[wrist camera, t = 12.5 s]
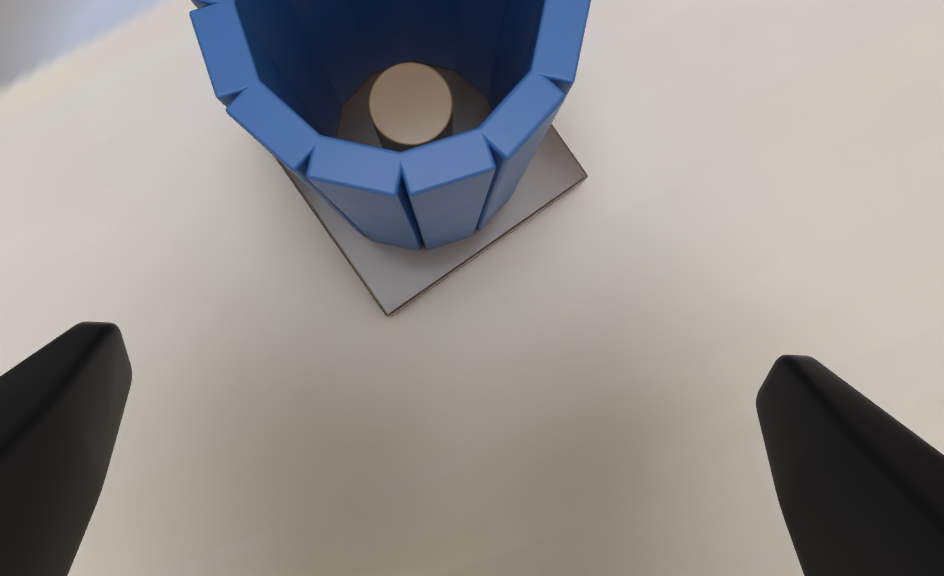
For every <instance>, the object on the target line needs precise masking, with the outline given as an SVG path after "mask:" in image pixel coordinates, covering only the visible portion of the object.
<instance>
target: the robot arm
mask: <svg viewBox="0 0 944 576" xmlns="http://www.w3.org/2000/svg"><path fill="white" fill-rule="evenodd" d="M131 380H132V368H131V364H130V361H129V357H128V354H127V351H126V348H125V344H124V341H123V338H122V334H121V332H120V329H119V328H118V326H117V325H115V324H113V323H108V322H81V323H79V324H77V325H75V326H73V327H72V328H70V329H69V330H68V331H66V332H65V333H63V334H62V335H60V336H59V337H57V338H56V339H54V340H53V341H51V342H50V343H48V344H47V345H46V346H44V347H43V348H41V349H40V350H38V351H37V352H35V353H34V354H32V355H31V356H29V357H28V358H27V359H25V360H24V361H22V362H21V363H19V364H18V365H16V366H15V367H13V368H12V369H10V370H9V371H7V372H6V373H5V374H3V375H2V376H0V576H67V575H68V573H69V570H70V568H71V566H72V563H73V561H74V558H75V556H76V553H77V551H78V548H79V546H80V543H81V541H82V538H83V536H84V534H85V531H86V529H87V526H88V524H89V521H90V519H91V516H92V514H93V511H94V509H95V506H96V504H97V501H98V498H99V496H100V493H101V490H102V487H103V484H104V480H105V477H106V474H107V470H108V467H109V463H110V459H111V456H112V452H113V448H114V445H115V441H116V437H117V434H118V430H119V426H120V423H121V419H122V415H123V412H124V408H125V404H126V401H127V397H128V393H129V390H130V386H131ZM756 408H757V413H758V417H759V422H760V426H761V430H762V434H763V438H764V443H765V447H766V451H767V455H768V460H769V464H770V468H771V472H772V476H773V481H774V485H775V489H776V493H777V496H778V500H779V504H780V507H781V510H782V513H783V516H784V519H785V522H786V525H787V528H788V531H789V533H790V536H791V539H792V542H793V545H794V548H795V550H796V553H797V556H798V559H799V562H800V565H801V567H802V570H803V573H804V576H944V455H943V454H942V453H940V452H939V451H938V450H936V449H935V448H933V447H932V446H931V445H929V444H928V443H927V442H925V441H924V440H923V439H921V438H920V437H919V436H917V435H916V434H915V433H913V432H912V431H911V430H909V429H908V428H907V427H905V426H904V425H903V424H901V423H900V422H899V421H897V420H896V419H895V418H893V417H892V416H891V415H889V414H888V413H887V412H885V411H884V410H883V409H881V408H880V407H879V406H877V405H876V404H874V403H873V402H872V401H870V400H869V399H868V398H866V397H865V396H864V395H862V394H861V393H860V392H858V391H857V390H856V389H854V388H853V387H852V386H850V385H849V384H848V383H846V382H845V381H844V380H842V379H841V378H840V377H838V376H837V375H836V374H834V373H833V372H832V371H830V370H829V369H828V368H826V367H825V366H824V365H822V364H821V363H820V362H818V361H817V360H815V359H814V358H812V357H809V356H802V355H783V356H781V357H779V358H778V359H777V360H776V361H775V363H774V365H773V367H772V368H771V370H770V372H769V374H768V375H767V377H766V379H765V381H764V382H763V384H762V386H761V388H760V389H759V391H758V394H757V398H756Z"/></svg>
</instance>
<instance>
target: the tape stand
mask: <svg viewBox="0 0 944 576" xmlns="http://www.w3.org/2000/svg"><path fill="white" fill-rule="evenodd" d="M491 112H492V111H491V108H490V105H489V102H488V99H487V98H486V97H485V96H484V95H483V94H482V93H481V92H479V91H478V90H477V89H476V88H475V87H474V86H473V85H472V84H470V83H469V82H468V81H467V80H466V79H465V78H464V77H463V76H462V75H460V74H459V73H458V72H457V71H456V70H453V69H448V68H443V67H439V66H434V65H430V64H425V63H421V62H416V61H410V62H405V63H400V64H396V65H394V66H391V67H390V68H387V69H384V70H381V71H378V72H375V73H372V74H371V75H370V76H369V77H368V78H367V79H366V80H365V81H364V82H363V83H362V85H361V86H360V87H359V88H358V89H357V90H356V91H355V92H354V93H353V94H352V95H351V96H350V98H349V99H348V100H347V101H346V102H345V103H344V104H343V106H342V111H341V115H340V120H339V124H338V129H337V133H336V138H338V139H343V140H347V141H352V142H356V143H361V144H366V145H370V146H375V147H380V148H384V149H389V150H394V151H398V152H402V151H405V150H408V149H411V148H414V147H418V146H421V145H424V144H427V143H430V142H433V141H437V140H440V139H443V138H446V137H449V136H452V135H456V134H459V133H462V132H465V131H468V130H471V129H475V128H477V127H478V126H479V125H480V124H481V123H482V122H483V121H484V120H485V119H486V118H487V116H488V115H489V114H490V113H491ZM274 157H275V156H274ZM275 158H276V157H275ZM276 160H277V161H278V162H279V164H280V165H281V167H282V168H283V170H284V171H285V172H286V174H287V175H288V177H289V178H290V180H291V181H292V182H293V184H294V185H295V187H296V188H297V190H298V191H299V192H300V194H301V195H302V197H303V198H304V199H305V201H306V202H307V204H308V205H309V207H310V208H311V209H312V211H313V212H314V214H315V215H316V217H317V218H318V219H319V221H320V222H321V224H322V225H323V227H324V228H325V229H326V231H327V232H328V234H329V235H330V237H331V238H332V239H333V241H334V242H335V244H336V245H337V246H338V248H339V249H340V251H341V252H342V254H343V255H344V256H345V258H346V259H347V261H348V262H349V264H350V265H351V266H352V268H353V269H354V271H355V272H356V274H357V275H358V276H359V278H360V279H361V281H362V282H363V284H364V285H365V286H366V288H367V289H368V291H369V292H370V294H371V295H372V296H373V298H374V299H375V301H376V302H377V303H378V305H379V306H380V308H381V309H382V311H383V312H384V313H385V315H386V316H393V315H394V314H396V313H397V312H398V311H400V310H401V309H403V308H404V307H406V306H407V305H408V304H410V303H411V302H413V301H414V300H416V299H417V298H418V297H420V296H421V295H423V294H424V293H426V292H427V291H428V290H430V289H431V288H433V287H434V286H436V285H437V284H438V283H440V282H441V281H443V280H444V279H446V278H447V277H448V276H450V275H451V274H453V273H454V272H456V271H457V270H458V269H460V268H461V267H463V266H464V265H466V264H467V263H468V262H470V261H471V260H473V259H474V258H476V257H477V256H478V255H480V254H481V253H483V252H484V251H486V250H487V249H488V248H490V247H491V246H493V245H494V244H496V243H497V242H498V241H500V240H501V239H503V238H504V237H506V236H507V235H508V234H510V233H511V232H513V231H514V230H516V229H517V228H518V227H520V226H521V225H523V224H524V223H526V222H527V221H528V220H530V219H531V218H533V217H534V216H536V215H537V214H538V213H540V212H541V211H543V210H544V209H546V208H547V207H548V206H550V205H551V204H553V203H554V202H555V201H557V200H558V199H560V198H561V197H563V196H564V195H565V194H567V193H568V192H570V191H571V190H573V189H574V188H575V187H577V186H578V185H580V184H581V183H582V182H583V181H584V180H585V179H586V178H587V177H588V176H587V174H586V172H585V171H584V169H583V168H582V166H581V165H580V164H579V162H578V161H577V159H576V158H575V157H574V155H573V154H572V152H571V151H570V150H569V148H568V147H567V145H566V144H565V142H564V141H563V140H562V138H561V137H560V135H559V134H558V133H557V131H556V130H555V128H554V127H553V125H552V124H551V125H550V127H549V128H548V130H547V132H546V134H545V136H544V138H543V139H542V141H541V143H540V145H539V147H538V148H537V150H536V152H535V154H534V156H533V157H532V159H531V161H530V163H529V165H528V167H527V168H526V170H525V172H524V174H523V176H522V177H521V179H520V181H519V183H518V185H517V187H516V188H515V190H514V192H513V194H512V196H511V197H510V198H509V200H508V201H507V202H506V203H505V204H504V205H503V206H502V207H501V208H500V210H499V211H498V212H497V213H496V214H495V215H494V216H493V217H492V218H491V220H490V221H489V222H488V223H487V224H486V225H485V226H484V227H483V228H482V229H481V230H477V229H476V228H475V231H474V234H473V235H472V236H470V237H467V238H464V239H461V240H458V241H455V242H452V243H449V244H446V245H443V246H440V247H436V248H433V249H430V250H427V249H426V247H425V244H424V241H423V239H422V244H421V249H420V250H413V249H408V248H403V247H399V246H394V245H389V244H384V243H380V242H375V241H372V240H371V239H370V238H369V237H368V236H365V237H364V236H363V235H361V234H360V233H359V232H358V231H357V230H356V229H355V228H354V227H352V226H351V225H350V224H349V223H348V222H347V221H346V220H345V219H344V218H342V217H341V216H340V215H339V214H338V213H337V212H336V211H335V210H333V209H332V208H331V207H330V206H329V205H328V204H327V203H326V202H325V201H323V200H322V199H321V198H320V197H319V196H318V195H317V194H316V193H315V192H314V191H312V190H311V189H310V188H309V187H308V186H307V185H306V184H305V183H304V182H302V181H301V180H300V179H299V178H298V177H297V176H296V175H295V174H294V173H293V172H291V171H290V170H289V169H288V168H287V167H286V166H285V165H284V164H283V163H281V162H280V161H279V160H278V159H277V158H276Z"/></svg>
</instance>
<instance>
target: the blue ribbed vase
mask: <svg viewBox="0 0 944 576" xmlns="http://www.w3.org/2000/svg"><path fill="white" fill-rule="evenodd" d="M191 1H192V2H193V3H194V5H195V6H196V7H197V8H198V9H196V10H192V11H190V18H191V21H192V24H193V27H194V30H195V33H196V36H197V39H198V43H199V46H200V49H201V52H202V55H203V58H204V61H205V64H206V67H207V71H208V74H209V77H210V80H211V83H212V86H213V89H214V92H215V95H216V97H217V99H218V100H220V101H221V102H222V103H223V104H224V105H225V106H226V107H227V108H226V112H227V114H228V115H230V116H231V117H232V118H233V119H234V120H235V121H236V122H237V123H238V124H239V125H241V126H242V127H243V128H244V129H245V130H246V131H247V132H248V133H249V134H251V135H252V136H253V137H254V138H255V139H256V140H257V141H258V142H259V143H260V144H262V145H263V146H264V147H265V148H266V149H267V150H268V151H269V152H270V153H272V154H273V155H274V156H275V157H276V158H277V159H278V160H279V161H280V162H281V163H283V164H284V165H285V166H286V167H287V168H288V169H289V170H290V171H291V172H293V173H294V174H295V175H296V176H297V177H298V178H299V179H300V180H301V181H302V182H304V183H305V184H306V185H307V186H308V187H309V188H310V189H311V190H312V191H314V192H315V193H316V194H317V195H318V196H319V197H320V198H321V199H322V200H323V201H325V202H326V203H327V204H328V205H329V206H330V207H331V208H332V209H333V210H335V211H336V212H337V213H338V214H339V215H340V216H341V217H342V218H344V219H345V220H346V221H347V222H348V223H349V224H350V225H351V226H352V227H354V228H355V229H356V230H357V231H358V232H359V233H360V234H361V235H363V236H364V237H365V236H368V237H369V238H370V239H371V240H372V241H375V242H380V243H384V244H389V245H394V246H399V247H403V248H408V249H413V250H420V249H421V244H422V239H423V241H424V244H425V247H426V249H427V250H430V249H433V248H436V247H440V246H443V245H446V244H449V243H452V242H455V241H458V240H461V239H464V238H467V237H470V236H472V235H473V234H474V231H475V228H476V229H477V230H481V229H482V228H483V227H484V226H485V225H486V224H487V223H488V222H489V221H490V220H491V218H492V217H493V216H494V215H495V214H496V213H497V212H498V211H499V210H500V208H501V207H502V206H503V205H504V204H505V203H506V202H507V201H508V200H509V198H510V197H511V196H512V194H513V192H514V190H515V188H516V187H517V185H518V183H519V181H520V179H521V177H522V176H523V174H524V172H525V170H526V168H527V167H528V165H529V163H530V161H531V159H532V157H533V156H534V154H535V152H536V150H537V148H538V147H539V145H540V143H541V141H542V139H543V138H544V136H545V134H546V132H547V130H548V128H549V127H550V125H551V123H552V121H553V119H554V118H555V116H556V114H557V112H558V110H559V108H560V107H561V105H562V103H563V101H564V99H565V97H566V96H567V94H568V92H569V90H570V88H571V86H572V85H573V83H574V80H575V76H576V71H577V66H578V61H579V56H580V51H581V46H582V41H583V36H584V32H585V27H586V22H587V17H588V12H589V7H590V2H591V0H191ZM410 61H416V62H421V63H425V64H430V65H434V66H439V67H443V68H448V69H453V70H456V71H457V72H458V73H459V74H460V75H462V76H463V77H464V78H465V79H466V80H467V81H468V82H469V83H470V84H472V85H473V86H474V87H475V88H476V89H477V90H478V91H479V92H481V93H482V94H483V95H484V96H485V97H486V98H487V99H488V102H489V105H490V108H491V111H492V112H491V113H490V114H489V115H488V116H487V118H486V119H485V120H484V121H483V122H482V123H481V124H480V125H479V126H478V127H477V128H475V129H471V130H468V131H465V132H462V133H459V134H456V135H452V136H449V137H446V138H443V139H440V140H437V141H433V142H430V143H427V144H424V145H421V146H418V147H414V148H411V149H408V150H405V151H402V152H398V151H394V150H389V149H384V148H380V147H375V146H370V145H366V144H361V143H356V142H352V141H347V140H343V139H338V138H336V133H337V129H338V124H339V120H340V115H341V111H342V106H343V104H344V103H345V102H346V101H347V100H348V99H349V98H350V96H351V95H352V94H353V93H354V92H355V91H356V90H357V89H358V88H359V87H360V86H361V85H362V83H363V82H364V81H365V80H366V79H367V78H368V77H369V76H370V75H371V74H372V73H375V72H378V71H381V70H384V69H387V68H390V67H391V66H394V65H396V64H400V63H405V62H410Z"/></svg>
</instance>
